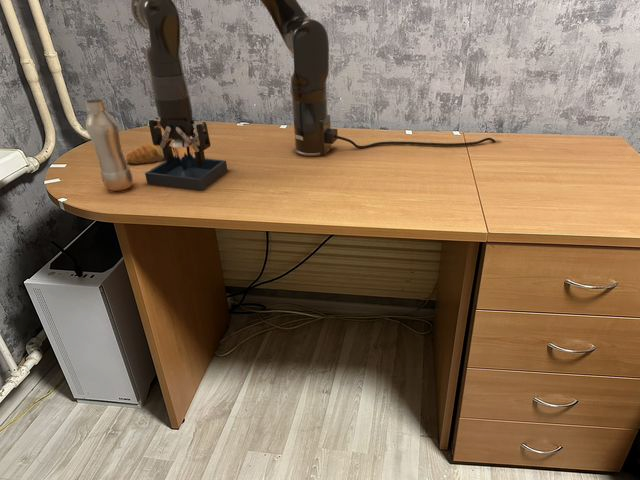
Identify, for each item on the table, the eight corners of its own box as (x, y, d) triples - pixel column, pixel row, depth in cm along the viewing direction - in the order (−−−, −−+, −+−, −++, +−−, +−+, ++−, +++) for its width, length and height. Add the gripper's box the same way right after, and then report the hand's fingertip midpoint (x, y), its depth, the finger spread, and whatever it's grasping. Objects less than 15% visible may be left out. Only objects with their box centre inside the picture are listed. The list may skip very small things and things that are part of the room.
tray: (227, 171, 122) (226, 160, 121) (201, 190, 112) (199, 179, 111) (177, 165, 126) (175, 155, 124) (147, 184, 115) (144, 173, 114)
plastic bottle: (117, 196, 110) (90, 106, 99) (99, 189, 113) (70, 102, 102) (141, 186, 114) (118, 99, 103) (123, 180, 117) (98, 95, 106)
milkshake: (181, 181, 116) (172, 141, 110) (177, 174, 120) (168, 134, 114) (200, 178, 118) (192, 138, 112) (195, 171, 122) (188, 131, 116)
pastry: (131, 167, 124) (128, 153, 122) (124, 160, 129) (120, 146, 127) (167, 159, 129) (164, 145, 127) (159, 153, 134) (155, 139, 131)
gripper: (208, 93, 110) (219, 161, 119) (154, 88, 113) (168, 156, 122) (190, 101, 104) (203, 172, 113) (133, 96, 107) (150, 166, 116)
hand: (185, 164), depth 117 cm, fingers open, 8 cm apart
